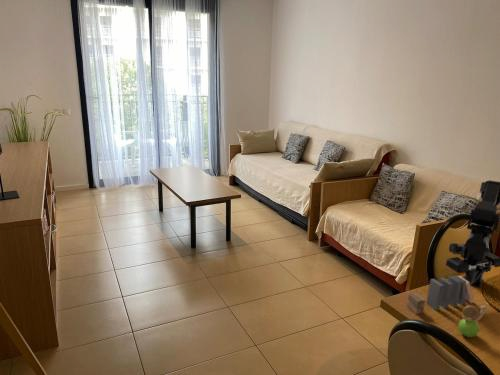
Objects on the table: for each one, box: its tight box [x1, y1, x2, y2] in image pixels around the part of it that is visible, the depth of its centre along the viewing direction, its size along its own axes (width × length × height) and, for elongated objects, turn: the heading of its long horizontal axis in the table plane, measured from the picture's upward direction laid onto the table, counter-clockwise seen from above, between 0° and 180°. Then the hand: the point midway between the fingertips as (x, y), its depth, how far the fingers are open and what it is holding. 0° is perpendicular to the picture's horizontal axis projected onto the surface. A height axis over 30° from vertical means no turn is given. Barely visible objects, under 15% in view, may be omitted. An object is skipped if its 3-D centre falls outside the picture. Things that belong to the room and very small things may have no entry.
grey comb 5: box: [425, 278, 444, 311], centre depth 129 cm, size 1×4×10 cm, turn 16°
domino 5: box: [457, 275, 475, 304], centre depth 132 cm, size 1×4×10 cm, turn 15°
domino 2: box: [438, 277, 453, 309], centre depth 130 cm, size 1×4×10 cm, turn 16°
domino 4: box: [452, 274, 467, 306], centre depth 131 cm, size 1×4×10 cm, turn 16°
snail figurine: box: [457, 301, 489, 338], centre depth 114 cm, size 5×6×12 cm
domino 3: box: [447, 275, 462, 308], centre depth 131 cm, size 1×4×10 cm, turn 16°
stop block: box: [406, 292, 426, 315], centre depth 127 cm, size 3×4×5 cm
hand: (469, 284), depth 132 cm, fingers closed
